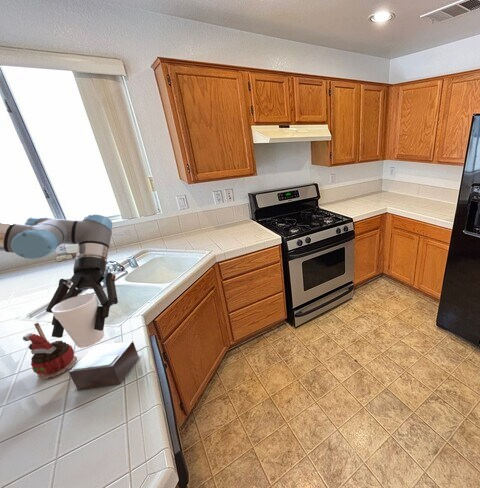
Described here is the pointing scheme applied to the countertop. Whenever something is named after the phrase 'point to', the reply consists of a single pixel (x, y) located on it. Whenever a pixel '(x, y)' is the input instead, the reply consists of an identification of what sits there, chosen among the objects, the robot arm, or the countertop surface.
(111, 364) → the box
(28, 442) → the countertop surface
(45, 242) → the robot arm
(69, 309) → the foam cup
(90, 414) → the countertop surface
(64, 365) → the cake
